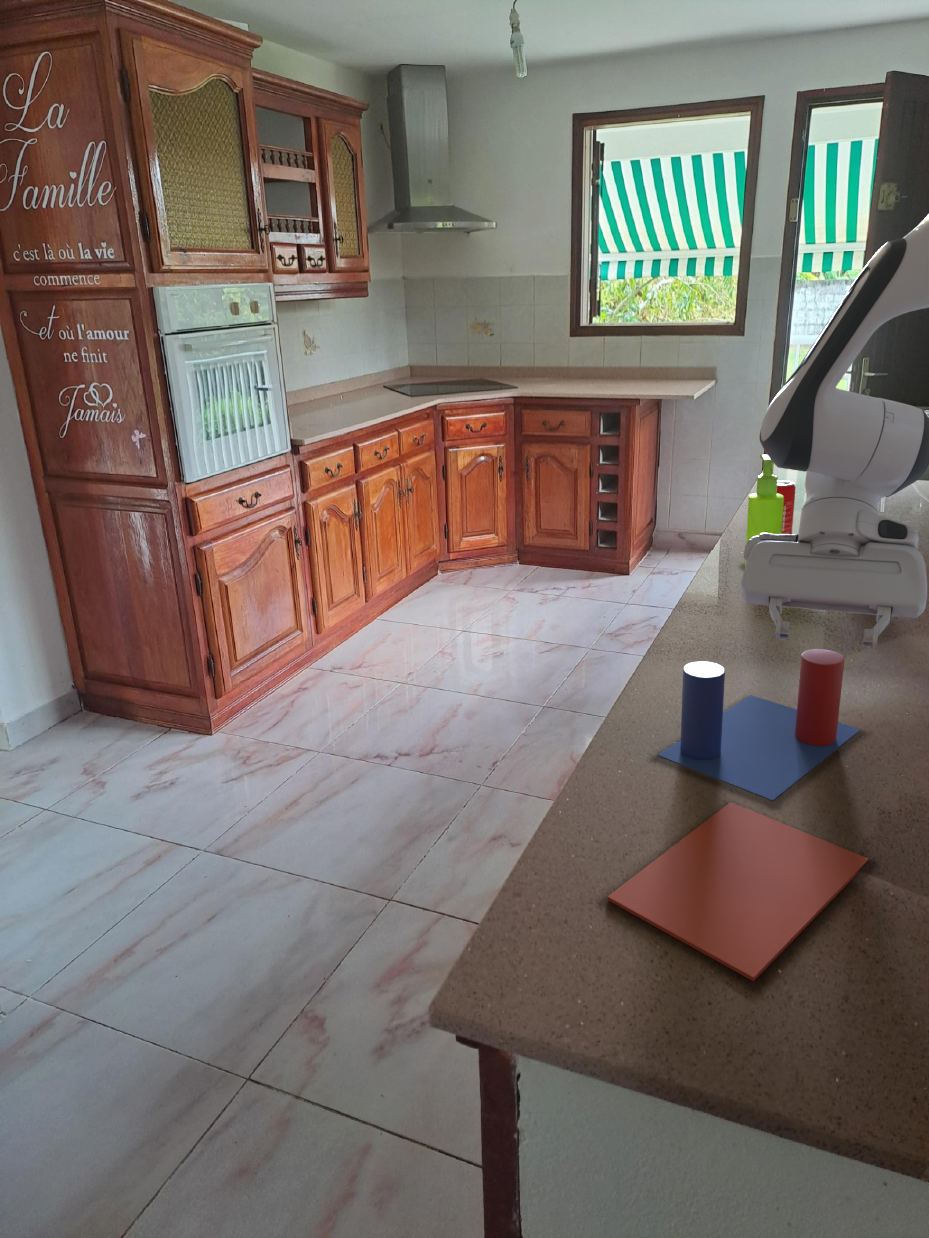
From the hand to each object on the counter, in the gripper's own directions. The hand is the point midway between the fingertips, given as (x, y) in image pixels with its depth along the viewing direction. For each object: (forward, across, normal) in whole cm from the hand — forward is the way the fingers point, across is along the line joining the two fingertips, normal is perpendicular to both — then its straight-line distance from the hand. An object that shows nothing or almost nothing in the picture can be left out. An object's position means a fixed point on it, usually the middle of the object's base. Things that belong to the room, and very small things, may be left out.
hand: (824, 642), depth 101 cm
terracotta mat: (+31, -4, -17) cm, 36 cm away
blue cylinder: (+15, -12, -2) cm, 19 cm away
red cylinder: (+11, 0, +3) cm, 11 cm away
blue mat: (+13, -6, +1) cm, 14 cm away
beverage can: (-46, -12, +60) cm, 76 cm away
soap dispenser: (-34, -13, +49) cm, 61 cm away
